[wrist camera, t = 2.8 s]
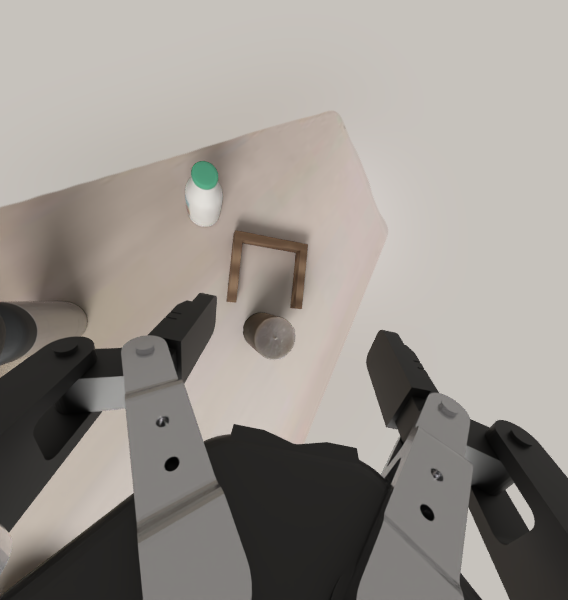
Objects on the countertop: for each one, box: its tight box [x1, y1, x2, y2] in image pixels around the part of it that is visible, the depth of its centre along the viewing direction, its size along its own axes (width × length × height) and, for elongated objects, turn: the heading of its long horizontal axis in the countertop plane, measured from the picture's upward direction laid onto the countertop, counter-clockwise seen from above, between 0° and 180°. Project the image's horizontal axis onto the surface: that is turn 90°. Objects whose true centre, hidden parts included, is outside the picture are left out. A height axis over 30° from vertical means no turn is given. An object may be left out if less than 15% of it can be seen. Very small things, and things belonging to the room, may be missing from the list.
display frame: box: [227, 230, 308, 309], centre depth 65 cm, size 18×20×4 cm
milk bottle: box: [185, 161, 223, 227], centre depth 52 cm, size 8×8×20 cm
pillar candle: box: [243, 313, 295, 360], centre depth 59 cm, size 10×10×15 cm
